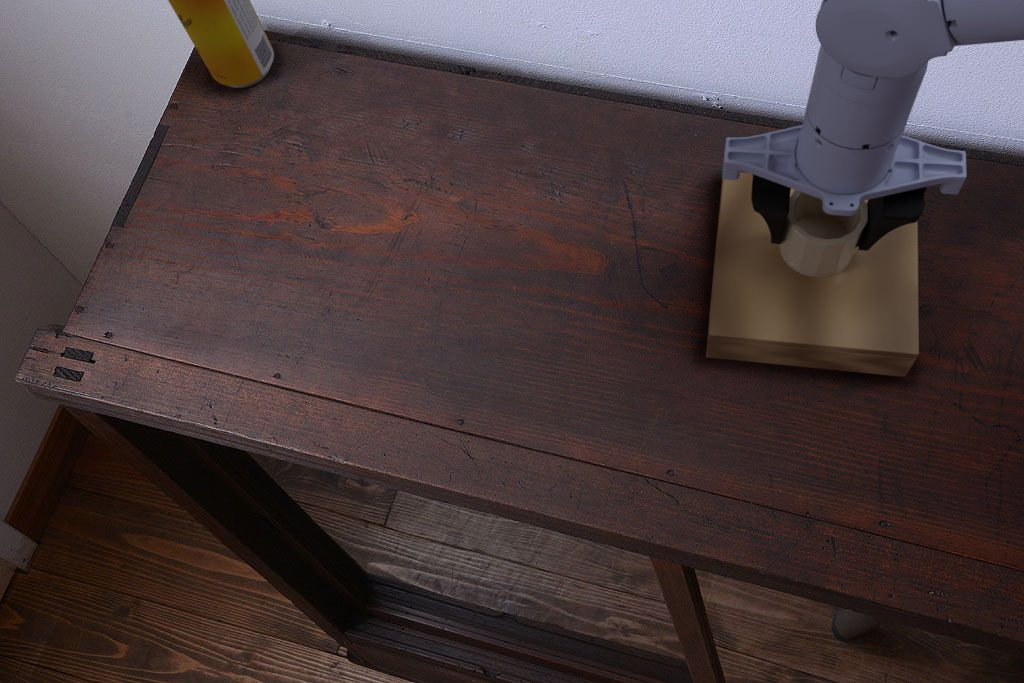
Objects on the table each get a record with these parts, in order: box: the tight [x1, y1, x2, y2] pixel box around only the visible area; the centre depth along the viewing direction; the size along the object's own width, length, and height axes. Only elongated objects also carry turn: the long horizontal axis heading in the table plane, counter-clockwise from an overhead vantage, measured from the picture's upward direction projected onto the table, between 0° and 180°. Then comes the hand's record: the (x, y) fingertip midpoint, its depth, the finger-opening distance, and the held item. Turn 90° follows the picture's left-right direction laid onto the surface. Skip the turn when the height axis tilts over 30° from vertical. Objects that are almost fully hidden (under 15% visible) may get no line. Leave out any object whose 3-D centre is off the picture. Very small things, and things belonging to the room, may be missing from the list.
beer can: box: [167, 0, 275, 89], centre depth 83 cm, size 6×6×15 cm
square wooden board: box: [705, 172, 920, 378], centre depth 72 cm, size 14×16×4 cm
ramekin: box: [779, 190, 868, 277], centre depth 68 cm, size 5×5×4 cm
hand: (819, 235), depth 69 cm, fingers closed on ramekin, 5 cm apart
